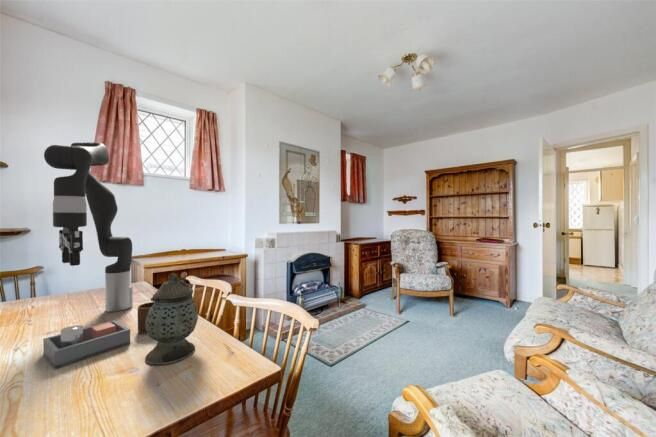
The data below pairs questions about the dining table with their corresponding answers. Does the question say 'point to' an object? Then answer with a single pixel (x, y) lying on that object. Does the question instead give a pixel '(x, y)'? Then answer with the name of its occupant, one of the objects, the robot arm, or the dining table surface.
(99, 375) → the dining table surface
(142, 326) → the mug
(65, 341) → the steel cylinder
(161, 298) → the lantern
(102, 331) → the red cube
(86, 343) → the tote
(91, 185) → the robot arm
